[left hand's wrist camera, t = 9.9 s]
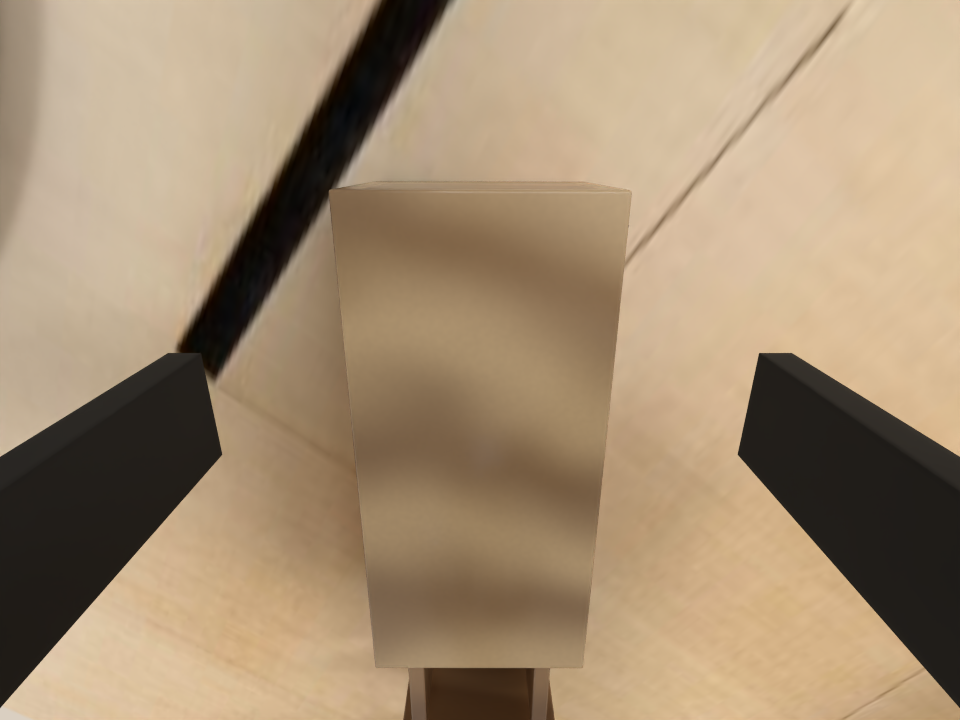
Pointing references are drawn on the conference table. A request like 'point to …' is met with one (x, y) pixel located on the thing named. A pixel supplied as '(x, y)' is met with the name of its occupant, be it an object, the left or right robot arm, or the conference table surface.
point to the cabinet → (479, 410)
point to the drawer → (479, 694)
